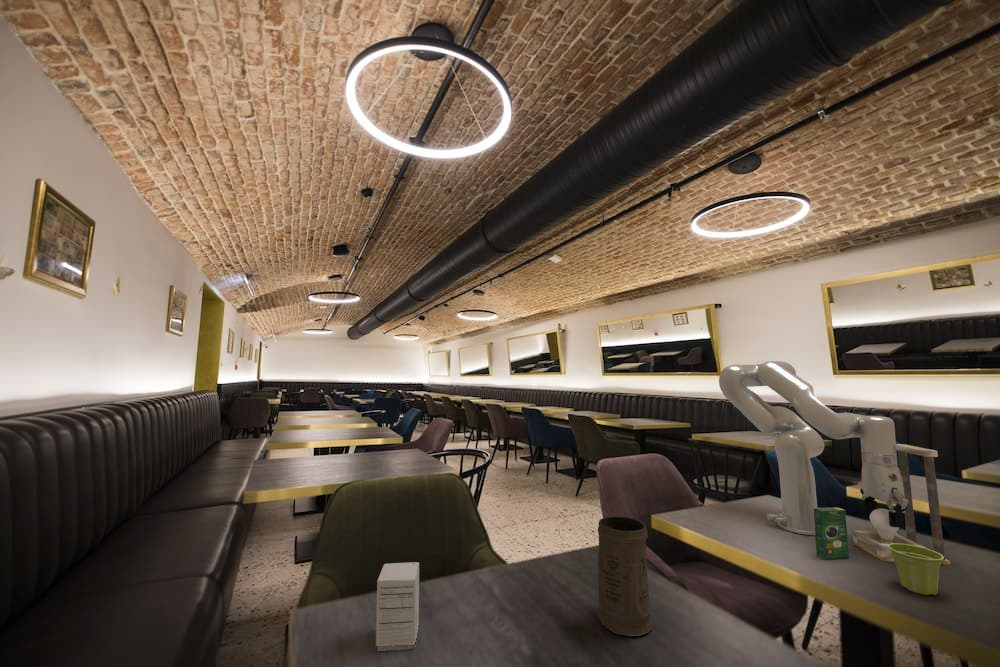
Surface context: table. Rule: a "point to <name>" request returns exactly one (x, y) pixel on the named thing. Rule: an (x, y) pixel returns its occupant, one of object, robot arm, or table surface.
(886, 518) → the lightbulb
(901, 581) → the plant pot
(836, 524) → the coffee box
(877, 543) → the socket stand
